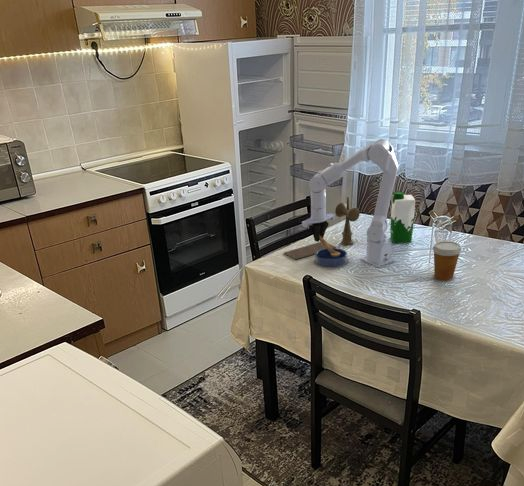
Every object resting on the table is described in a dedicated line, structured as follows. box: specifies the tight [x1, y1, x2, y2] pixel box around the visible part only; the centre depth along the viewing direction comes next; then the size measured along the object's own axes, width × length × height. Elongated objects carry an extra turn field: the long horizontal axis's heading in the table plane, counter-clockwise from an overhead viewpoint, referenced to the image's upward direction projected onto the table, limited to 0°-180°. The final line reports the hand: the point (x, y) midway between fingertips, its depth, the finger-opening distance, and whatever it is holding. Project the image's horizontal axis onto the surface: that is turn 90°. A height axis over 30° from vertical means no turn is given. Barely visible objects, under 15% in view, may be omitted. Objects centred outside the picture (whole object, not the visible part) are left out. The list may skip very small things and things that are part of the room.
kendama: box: [334, 196, 361, 246], centre depth 222 cm, size 6×10×20 cm, turn 30°
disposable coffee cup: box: [432, 240, 462, 282], centre depth 191 cm, size 10×10×12 cm
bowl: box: [314, 247, 348, 268], centre depth 211 cm, size 12×12×4 cm
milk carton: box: [389, 190, 416, 244], centre depth 222 cm, size 9×9×20 cm
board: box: [283, 241, 337, 261], centre depth 222 cm, size 20×9×1 cm, turn 122°
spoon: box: [319, 234, 340, 257], centre depth 210 cm, size 14×4×6 cm, turn 32°
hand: (318, 240), depth 214 cm, fingers closed on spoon
